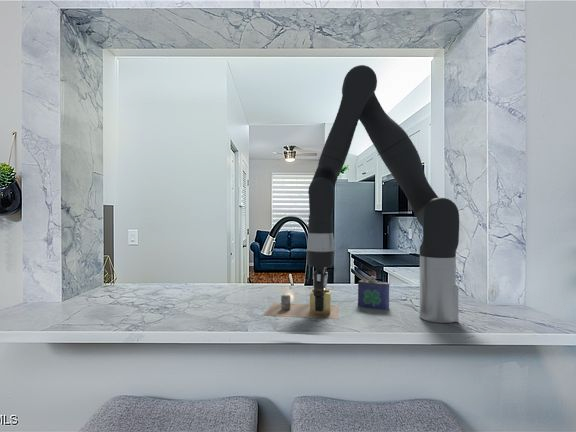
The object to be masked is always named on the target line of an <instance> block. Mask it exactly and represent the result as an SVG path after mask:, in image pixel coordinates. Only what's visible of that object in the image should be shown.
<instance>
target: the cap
mask: <svg viewBox="0 0 576 432" xmlns="http://www.w3.org/2000/svg"><path fill="white" fill-rule="evenodd" d="M317 292H321V290H317ZM309 304H310V313H315V314H330V313H331V305H332V290H331V289H326V290H324V297H323V311H316V310H315V296H314V288H312V289H310V291H309Z"/></svg>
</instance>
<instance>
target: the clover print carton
mask: <svg viewBox="0 0 576 432" xmlns="http://www.w3.org/2000/svg"><path fill="white" fill-rule="evenodd" d="M376 278H377V276H374V275H371V276H370V279H367V280H366V279H365V278H363V279H361V280H358V283H357V306H358V307H362V308H367V309H374V310H375V309H376V310H389V309H390V283H389V282H386V281H385V282H384V281H376Z"/></svg>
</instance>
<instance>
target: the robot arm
mask: <svg viewBox="0 0 576 432" xmlns="http://www.w3.org/2000/svg"><path fill="white" fill-rule="evenodd" d="M377 85H378V78H377V74H376V72H375V71H374V70H373V68H371V67H370V66H368V65H366V64H358V65H356V66H354V67H352V68H350V70H348V72H347V73H346V75H345V76H344V79H343V83H342V87H341V100H340V104H339V107H338V109H337V113H336V116H335V119H334V122H333V123H332V126H331V129H330V130H329V133H328V135H327V138H326V140H325V143H324V146H323V148H322V150H321V153H320V157H319V160H318V163H317V168H316V170H315V172H314V175H313V177H312V180H311V183H310V184H309V186H308V205H309V211H308V212H309V214H308V222H307V223H308V229H307V230H308V231H307V239H306V240H307V242H306V243H307V245H306V246H307V252H306V253H307V255H306V265H307V266H308V267H313V268H315V271H313V273H312V280H313V282H312V283H313V284H312V285H313V288H312V289H314V296H315V310H316V311H323V297H324V290H327V286H328V277H329V275H328V271H327V268H332V267H333V266H334V264H335V239H334V218H333V216H334V215H333V212H334V205H335V202H334V201H335V186H336V185H337V180H338V177H339V175H340V173H341V171H342V170H343V167H344V165H345V162H346V160H347V157H348V154H349V151H350V148H351V146H352V142H353V140H354V134H355V132H356V128H357V126H358V123H359V122H360V123H361V125H362V126H363V128H364V130H365V132H366V133H367V136H368V138H369V139H370V141H371V143H372V144H373V146H374V148H375V149H376V152H377V153H378V155H379V157H380V158H381V160H382V161H383V163H384V165H385V167H386V168H387V170H388V171H389V173H390V174H391V176H392V177H393V179H394V181H395V182H396V183H397V186H399V187H400V189H401V190H402V191H403V193H404V195H405V196H406V199H407V200H408V202H409V205H410V207H411V210H412V212H413V213H414V216H415V218H416V221H417V222H418V224H419V225H420V226H421V227H423V230H422V232H423V233H422V234H423V235H422V242H421V244H420V245H419V317H420V318H421V319H422V320H424V321H427V322H432V323H441V324H450V323H459V286H458V285H457V264H456V263H457V262H456V261H457V260H456V259H457V258H456V257H457V249H458V247H459V239H460V213H459V212H460V211H459V209H458V206H457V205H456V203H455V202H454V201H452V200H451V199H449V198H446V197H439V195H437V193H436V191H434V189H433V188H432V186H431V185H430V183H429V182H428V179H427V177H426V174H425V171H424V167H423V163H422V160H421V156H420V154H419V152H418V150H417V148H416V145H415V144H414V143H413V141H412V139H411V138H410V137H409V135H408V133H407V132H406V131H405V130H404V128H402V127H401V126H400V125H399V124H398V123H397V122H396V121H395V120H394V119H392V118H391V117H390V116H389V115H388V113H386V111H385V110H384V108H383V107H382V105H381V103H380V102H379V99H378V98H377V96H376V93H375V92H376V90H377V87H378V86H377ZM317 290H321V292H317Z"/></svg>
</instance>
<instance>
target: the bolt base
mask: <svg viewBox="0 0 576 432" xmlns="http://www.w3.org/2000/svg"><path fill="white" fill-rule="evenodd" d="M280 301H281V302H279V303H278V302H273V303H272V304H271V305H270V306H269V308H268V309H267V310H266V311H265V312H264V314H263V315H262V316H266V317H269V316H270V317H288V318H306V319H328V320H331V319H332V320H339V312H340V311H339V308H340V306H339V305H332V304H331V313H330V314H315V313H310V303H307V304H306V303H291V294H282V295H281V296H280Z"/></svg>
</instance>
